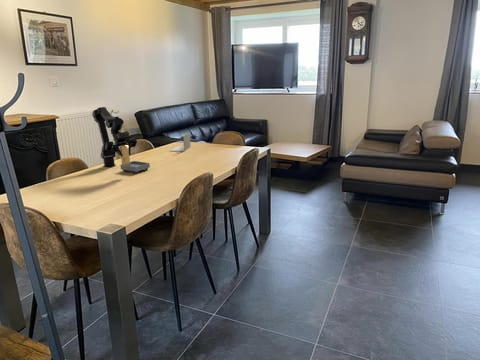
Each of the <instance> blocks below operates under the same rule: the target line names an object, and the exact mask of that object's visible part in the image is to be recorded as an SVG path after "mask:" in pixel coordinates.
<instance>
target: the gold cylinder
mask: <svg viewBox="0 0 480 360" xmlns="http://www.w3.org/2000/svg"><path fill="white" fill-rule="evenodd" d="M119 149H120V151H121V153H122V157H121V156H120V159H121V164H122V166H124V167H126V166H130V162H131V159H130V155H129V148H128V145H121V146H119Z"/></svg>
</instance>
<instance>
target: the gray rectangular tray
mask: <svg viewBox="0 0 480 360" xmlns="http://www.w3.org/2000/svg"><path fill="white" fill-rule="evenodd" d="M119 165H120V170H122V171H123V172H127V171H129V172H133V173H134V174H138V173H139V171H142V170H145V171H146V170H149V168H150V167H151V166H150V162H144V161H139V160H138V161H137V160H132V161H130V166H126V167H124V166H122V163H121V164H119Z"/></svg>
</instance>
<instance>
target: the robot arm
mask: <svg viewBox="0 0 480 360" xmlns="http://www.w3.org/2000/svg"><path fill="white" fill-rule="evenodd" d="M91 113H92V114H91V115H92V118H93V120H94V122H95V123H96V124H97V125H98V129H99V133H100V138H101V142H102V146H101V152H100V158H101V159H102V160H103V165H102V168H112V167H115V166H117V164H115V158H116V154H118V155H119V156H120V158H121V157H122V153H121V151H120V146H121V145H128V148H129V156H131V149H132V148H135V147H137V143H138V140H137V139H136V138H134V137H133V138H130V139H129V140H128V141H127V138H128V137H130V132H129V131H128V130H125V131H124V132H122V130H123V126H124V123H125V121H124V120H123V119H122V118H120V117H119V116H113V115H112V114H111V113H110V111H109V110H108V109H107V107H105V106H102V107H101V106H100V107H97V108H96V109H94V110H92V112H91ZM107 128H108V129H110V134H111V135H112V138H113V141H111V140H110V138H109V133H108V129H107Z"/></svg>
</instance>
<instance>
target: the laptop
mask: <svg viewBox="0 0 480 360" xmlns="http://www.w3.org/2000/svg"><path fill="white" fill-rule="evenodd" d="M182 137H183V139H182V140H183V146H178V145H177V146H176V147H174V148H172V149H170V150H169V151H170V152H179V153H180V152H184V153H185V152H186V151H187V150H189V149H190V148H191V132H190V131H189V132H188V133H186V134H184V135H183V136H182Z"/></svg>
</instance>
